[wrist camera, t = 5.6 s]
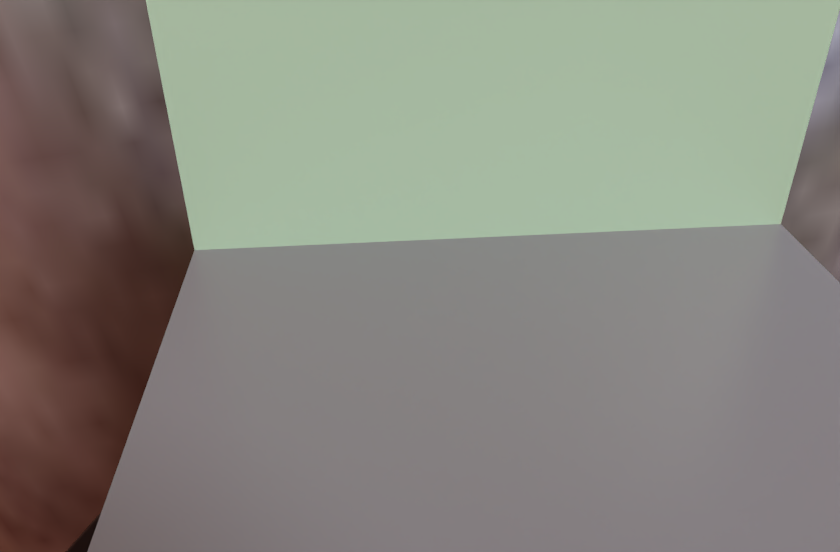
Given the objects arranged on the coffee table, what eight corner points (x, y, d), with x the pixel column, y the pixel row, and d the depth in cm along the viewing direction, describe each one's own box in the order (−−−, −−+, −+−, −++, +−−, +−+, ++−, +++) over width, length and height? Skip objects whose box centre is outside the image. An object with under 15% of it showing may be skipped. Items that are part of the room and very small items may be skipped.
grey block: (639, 609, 13) (821, 1127, 8) (286, 634, 13) (241, 1192, 8) (837, -237, 7) (2436, -355, 2) (133, -230, 6) (-803, -351, 1)
